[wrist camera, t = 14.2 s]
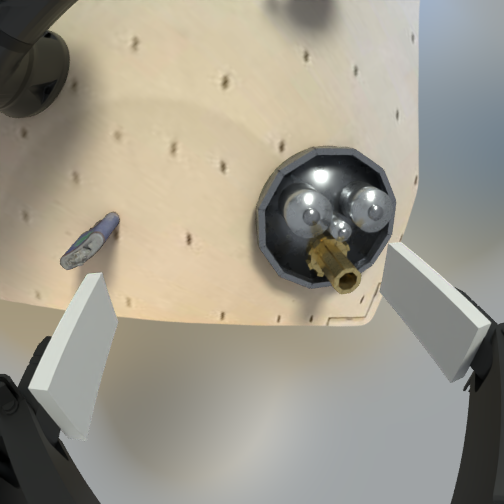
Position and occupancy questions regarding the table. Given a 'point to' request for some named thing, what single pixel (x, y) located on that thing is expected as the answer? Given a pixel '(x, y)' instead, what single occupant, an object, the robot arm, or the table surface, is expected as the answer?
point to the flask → (89, 242)
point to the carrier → (324, 210)
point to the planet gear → (333, 263)
